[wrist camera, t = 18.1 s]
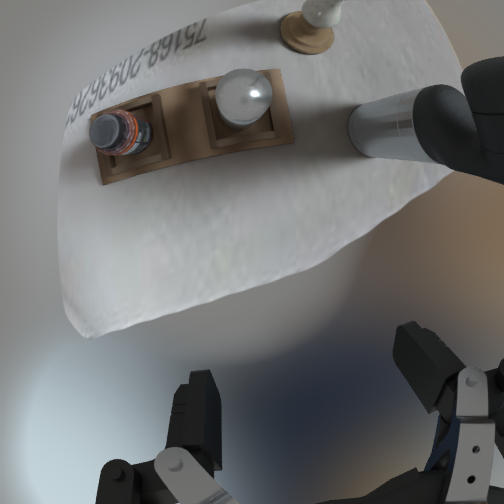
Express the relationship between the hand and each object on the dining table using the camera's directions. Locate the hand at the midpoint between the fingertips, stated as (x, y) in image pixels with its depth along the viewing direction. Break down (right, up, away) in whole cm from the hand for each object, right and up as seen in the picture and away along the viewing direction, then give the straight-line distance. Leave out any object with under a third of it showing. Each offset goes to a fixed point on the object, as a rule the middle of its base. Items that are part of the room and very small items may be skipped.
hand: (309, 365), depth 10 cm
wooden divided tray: (-12, +24, +26) cm, 37 cm away
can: (-4, +25, +25) cm, 35 cm away
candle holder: (+6, +40, +22) cm, 46 cm away
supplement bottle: (-20, +22, +25) cm, 39 cm away
